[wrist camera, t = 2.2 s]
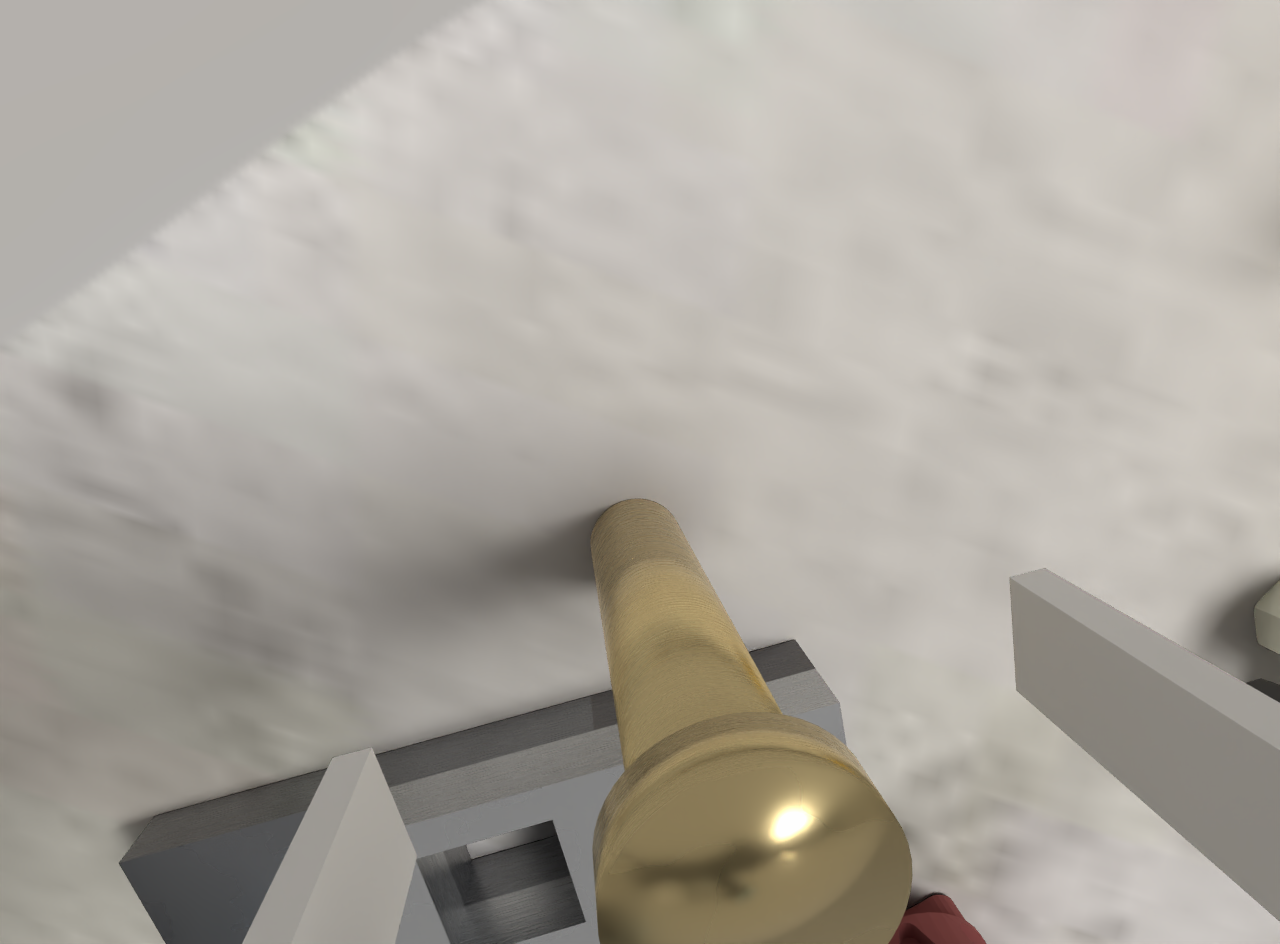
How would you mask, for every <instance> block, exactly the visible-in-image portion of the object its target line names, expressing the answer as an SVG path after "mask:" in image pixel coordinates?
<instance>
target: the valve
mask: <svg viewBox="0 0 1280 944" xmlns="http://www.w3.org/2000/svg"><path fill="white" fill-rule="evenodd" d="M1254 617H1255V627H1256V636H1257V641H1258V644H1260V645H1262V646H1264V647H1266V648H1268V649H1270V650H1272V651H1274V652H1276V653H1278V654H1280V580H1279V581H1278V582H1277V583H1276V584H1275V585H1274V586H1273V587H1272V588H1271V589H1270V590H1269V591H1268V592H1267V593H1266V594H1265V595H1264V596H1263V597H1262V598H1261V599H1260V600H1259V601H1258V602H1257V604H1256V606H1255V608H1254Z"/></svg>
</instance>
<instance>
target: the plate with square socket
mask: <svg viewBox="0 0 1280 944" xmlns="http://www.w3.org/2000/svg"><path fill="white" fill-rule="evenodd" d="M749 654H750V656H751V657H752V659H753V661H754V663H755V665H756V667H757V668H758V670H759V672H760V674H761V676H762V677H763V679H764V681H765V683H766V685H767V686H768V688H769V690H770V692H771V694H772V696H773V697H774V699H775V701H776V703H777V705H778V706H779V708H780V710H781V712H782V714H784V715H788V716H792V717H796V718H800V719H803V720H805V721H808V722H810V723H813V724H815V725H817V726H819V727H821V728H823V729H824V730H826V731H828V732H829V733H831V734H833V735H834V736H835V737H836V738H838V739H839V740H840V741H841V742H842V743H844V744H845V745H846V740H845V734H844V727H843V721H842V715H841V708H840V703H839V701H838V700H837V698H836V697H835V696H834V694H833V693H832V691H831V690H830V688H829V687H828V686H827V684H826V683H825V681H824V680H823V679H822V677H821V676H820V674H819V673H818V671H817V670H816V669H815V667H814V666H813V664H812V663H811V662H810V660H809V659H808V657H807V656H806V655H805V653H804V652H803V650H802V649H801V647H800V646H799V645H798V643H797V642H796V640H792V641H788V642H785V643H781V644H778V645H774V646H770V647H767V648H763V649H759V650H756V651H752V652H749ZM375 756H376V758H377V761H378V763H379V765H380V768H381V770H382V773H383V775H384V777H385V780H386V782H387V785H388V787H389V789H390V792H391V794H392V797H393V799H394V801H395V804H396V806H397V809H398V811H399V813H400V816H401V818H402V821H403V823H404V825H405V828H406V830H407V833H408V835H409V837H410V840H411V842H412V845H413V847H414V849H415V852H416V854H417V858H416V862H415V866H414V870H413V874H412V878H411V882H410V886H409V890H408V894H407V898H406V902H405V906H404V910H403V914H402V917H401V921H400V925H399V929H398V933H397V937H396V941H395V944H600V941H599V937H598V924H597V910H596V896H595V882H594V868H593V852H592V846H593V837H594V830H595V826H596V822H597V819H598V815H599V813H600V811H601V808H602V806H603V803H604V801H605V799H606V797H607V796H608V794H609V792H610V791H611V789H612V787H613V786H614V784H615V783H616V782H617V780H618V779H619V778H620V776H621V775H622V774H623V773H624V771H625V770H624V764H623V757H622V751H621V744H620V738H619V731H618V724H617V718H616V711H615V705H614V698H613V692H612V690H611V691H607V692H603V693H600V694H596V695H593V696H589V697H585V698H582V699H578V700H574V701H571V702H567V703H564V704H560V705H556V706H553V707H549V708H545V709H542V710H538V711H534V712H531V713H527V714H524V715H520V716H516V717H513V718H509V719H505V720H502V721H498V722H495V723H491V724H487V725H484V726H480V727H476V728H473V729H469V730H466V731H462V732H458V733H455V734H451V735H447V736H444V737H440V738H437V739H433V740H429V741H426V742H422V743H418V744H415V745H411V746H408V747H404V748H400V749H397V750H393V751H389V752H386V753H382V754H378V755H375ZM326 770H327V769H324V770H320V771H317V772H313V773H310V774H306V775H302V776H299V777H295V778H291V779H288V780H284V781H281V782H277V783H273V784H270V785H266V786H262V787H259V788H255V789H252V790H248V791H244V792H241V793H237V794H233V795H230V796H226V797H222V798H219V799H215V800H212V801H208V802H204V803H201V804H197V805H193V806H190V807H186V808H183V809H179V810H175V811H172V812H168V813H164V814H161V815H157V816H154V818H153V819H152V820H151V822H150V823H149V824H148V826H147V827H146V828H145V829H144V831H143V832H142V833H141V835H140V836H139V837H138V839H137V840H136V841H135V843H134V844H133V845H132V846H131V848H130V849H129V850H128V852H127V853H126V854H125V856H124V857H123V858H122V860H121V861H120V862H119V864H120V866H121V868H122V870H123V871H124V873H125V875H126V876H127V878H128V880H129V882H130V883H131V885H132V887H133V888H134V890H135V892H136V894H137V895H138V897H139V899H140V900H141V902H142V904H143V906H144V907H145V909H146V911H147V912H148V914H149V916H150V917H151V919H152V921H153V923H154V924H155V926H156V928H157V929H158V931H159V933H160V935H161V936H162V938H163V940H164V941H165V943H166V944H242V943H243V941H244V939H245V937H246V935H247V933H248V931H249V928H250V926H251V924H252V922H253V920H254V918H255V916H256V914H257V912H258V910H259V908H260V906H261V904H262V902H263V900H264V898H265V896H266V894H267V892H268V889H269V887H270V885H271V883H272V881H273V879H274V877H275V875H276V873H277V871H278V869H279V867H280V865H281V863H282V861H283V859H284V857H285V855H286V852H287V850H288V848H289V846H290V844H291V842H292V840H293V838H294V836H295V834H296V832H297V830H298V828H299V826H300V824H301V822H302V820H303V818H304V815H305V813H306V811H307V809H308V807H309V805H310V803H311V801H312V799H313V797H314V795H315V793H316V791H317V789H318V787H319V785H320V783H321V781H322V779H323V776H324V774H325V772H326ZM550 820H553V823H554V826H555V829H556V832H557V836H554V837H551V838H547V839H544V840H540V841H537V842H533V843H530V844H526V845H523V846H519V847H516V848H512V849H509V850H506V851H502V852H499V853H495V854H492V855H488V856H485V857H481V858H478V859H474V860H471V857H470V855H469V852H468V850H467V847H466V845H467V844H470V843H474V842H477V841H481V840H484V839H488V838H491V837H494V836H498V835H501V834H505V833H508V832H512V831H515V830H519V829H522V828H526V827H529V826H533V825H536V824H540V823H543V822H547V821H550Z"/></svg>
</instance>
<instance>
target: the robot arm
mask: <svg viewBox="0 0 1280 944" xmlns="http://www.w3.org/2000/svg"><path fill="white" fill-rule="evenodd" d="M1009 578H1010V594H1011V611H1012V628H1013V644H1014V661H1015V678H1016V690H1017V691H1018V692H1019V693H1020V694H1021V695H1022V696H1023V697H1024V698H1026V699H1027V700H1028V701H1029V702H1030V703H1031V704H1032V705H1034V706H1035V707H1036V708H1037V709H1038V710H1039V711H1040V712H1042V713H1043V714H1044V715H1045V716H1046V717H1047V718H1048V719H1050V720H1051V721H1052V722H1053V723H1054V724H1055V725H1056V726H1058V727H1059V728H1060V729H1061V730H1062V731H1063V732H1064V733H1065V734H1067V735H1068V736H1069V737H1070V738H1071V739H1072V740H1073V741H1075V742H1076V743H1077V744H1078V745H1079V746H1080V747H1081V748H1083V749H1084V750H1085V751H1086V752H1087V753H1088V754H1089V755H1091V756H1092V757H1093V758H1094V759H1095V760H1096V761H1097V762H1099V763H1100V764H1101V765H1102V766H1103V767H1104V768H1105V769H1106V770H1108V771H1109V772H1110V773H1111V774H1112V775H1113V776H1114V777H1116V778H1117V779H1118V780H1119V781H1120V782H1121V783H1122V784H1124V785H1125V786H1126V787H1127V788H1128V789H1129V790H1130V791H1132V792H1133V793H1134V794H1135V795H1136V796H1137V797H1138V798H1140V799H1141V800H1142V801H1143V802H1144V803H1145V804H1146V805H1147V806H1149V807H1150V808H1151V809H1152V810H1153V811H1154V812H1155V813H1157V814H1158V815H1159V816H1160V817H1161V818H1162V819H1163V820H1165V821H1166V822H1167V823H1168V824H1169V825H1170V826H1171V827H1173V828H1174V829H1175V830H1176V831H1177V832H1178V833H1179V834H1181V835H1182V836H1183V837H1184V838H1185V839H1186V840H1187V841H1188V842H1190V843H1191V844H1192V845H1193V846H1194V847H1195V848H1196V849H1198V850H1199V851H1200V852H1201V853H1202V854H1203V855H1204V856H1206V857H1207V858H1208V859H1209V860H1210V861H1211V862H1212V863H1214V864H1215V865H1216V866H1217V867H1218V868H1219V869H1220V870H1222V871H1223V872H1224V873H1225V874H1226V875H1227V876H1228V877H1229V878H1231V879H1232V880H1233V881H1234V882H1235V883H1236V884H1237V885H1239V886H1240V887H1241V888H1242V889H1243V890H1244V891H1245V892H1247V893H1248V894H1249V895H1250V896H1251V897H1252V898H1253V899H1255V900H1256V901H1257V902H1258V903H1259V904H1260V905H1261V906H1263V907H1264V908H1265V909H1266V910H1267V911H1268V912H1269V913H1270V914H1272V915H1273V916H1274V917H1275V918H1276V919H1277V920H1278V921H1280V685H1278V684H1275V683H1272V682H1269V681H1266V680H1264V679H1258V680H1254V681H1251V682H1247V683H1244V682H1243V681H1241V680H1239V679H1237V678H1236V677H1234V676H1232V675H1230V674H1229V673H1227V672H1225V671H1223V670H1222V669H1220V668H1218V667H1216V666H1215V665H1213V664H1211V663H1209V662H1208V661H1206V660H1204V659H1202V658H1201V657H1199V656H1197V655H1196V654H1194V653H1192V652H1190V651H1189V650H1187V649H1185V648H1183V647H1182V646H1180V645H1178V644H1176V643H1175V642H1173V641H1171V640H1169V639H1168V638H1166V637H1164V636H1162V635H1161V634H1159V633H1157V632H1155V631H1154V630H1152V629H1150V628H1148V627H1147V626H1145V625H1143V624H1142V623H1140V622H1138V621H1136V620H1135V619H1133V618H1131V617H1129V616H1128V615H1126V614H1124V613H1122V612H1121V611H1119V610H1117V609H1115V608H1114V607H1112V606H1110V605H1108V604H1107V603H1105V602H1103V601H1101V600H1100V599H1098V598H1096V597H1094V596H1093V595H1091V594H1089V593H1087V592H1086V591H1084V590H1082V589H1081V588H1079V587H1077V586H1075V585H1074V584H1072V583H1070V582H1068V581H1067V580H1065V579H1063V578H1061V577H1060V576H1058V575H1056V574H1054V573H1053V572H1051V571H1049V570H1047V569H1046V568H1043V569H1039V570H1035V571H1031V572H1028V573H1024V574H1020V575H1016V576H1013V577H1009ZM416 858H417V854H416V852H415V849H414V847H413V845H412V842H411V840H410V837H409V835H408V833H407V830H406V828H405V825H404V823H403V821H402V818H401V816H400V813H399V811H398V809H397V806H396V804H395V801H394V799H393V797H392V794H391V792H390V789H389V787H388V785H387V782H386V780H385V777H384V775H383V773H382V770H381V768H380V765H379V763H378V761H377V758H376V756H375V753H374V751H373V749H372V747H371V748H367V749H363V750H360V751H356V752H352V753H348V754H345V755H341V756H337V757H333V758H332V760H331V762H330V764H329V766H328V768H327V770H326V772H325V774H324V776H323V779H322V781H321V783H320V785H319V787H318V789H317V791H316V793H315V795H314V797H313V799H312V801H311V803H310V805H309V807H308V809H307V811H306V813H305V815H304V818H303V820H302V822H301V824H300V826H299V828H298V830H297V832H296V834H295V836H294V838H293V840H292V842H291V844H290V846H289V848H288V850H287V852H286V855H285V857H284V859H283V861H282V863H281V865H280V867H279V869H278V871H277V873H276V875H275V877H274V879H273V881H272V883H271V885H270V887H269V889H268V892H267V894H266V896H265V898H264V900H263V902H262V904H261V906H260V908H259V910H258V912H257V914H256V916H255V918H254V920H253V922H252V924H251V926H250V928H249V931H248V933H247V935H246V937H245V939H244V941H243V943H242V944H395V941H396V937H397V933H398V929H399V925H400V921H401V917H402V914H403V910H404V906H405V902H406V898H407V894H408V890H409V886H410V882H411V878H412V874H413V870H414V866H415V862H416Z"/></svg>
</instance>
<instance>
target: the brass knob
mask: <svg viewBox="0 0 1280 944" xmlns="http://www.w3.org/2000/svg"><path fill="white" fill-rule="evenodd" d="M590 544H591V553H592V560H593V567H594V573H595V580H596V586H597V593H598V599H599V606H600V613H601V619H602V626H603V632H604V639H605V645H606V652H607V659H608V665H609V672H610V678H611V685H612V692H613V698H614V705H615V711H616V718H617V724H618V731H619V738H620V744H621V751H622V757H623V764H624V770H625V771H624V773H623V774H622V775H621V776H620V778H619V779H618V780H617V782H616V783H615V784H614V786H613V787H612V789H611V791H610V792H609V794H608V796H607V797H606V799H605V801H604V803H603V806H602V808H601V811H600V813H599V815H598V819H597V822H596V826H595V830H594V837H593V846H592V852H593V868H594V882H595V896H596V910H597V924H598V937H599V941H600V944H888V943H889V942H890V940H891V939H892V937H893V935H894V933H895V932H896V930H897V928H898V926H899V925H900V922H901V920H902V917H903V915H904V913H905V910H906V908H907V904H908V900H909V896H910V892H911V883H912V859H911V854H910V849H909V845H908V842H907V839H906V837H905V834H904V832H903V829H902V827H901V826H900V824H899V822H898V821H897V819H896V818H895V816H894V814H893V813H892V811H891V810H890V808H889V807H888V805H887V804H886V802H885V801H884V799H883V798H882V796H881V795H880V793H879V792H878V790H877V789H876V787H875V786H874V784H873V782H872V781H871V779H870V778H869V776H868V775H867V773H866V772H865V770H864V769H863V767H862V766H861V764H860V763H859V761H858V760H857V758H856V757H855V755H854V754H853V753H852V752H851V751H850V750H849V749H848V747H847V746H846V745H845V744H844V743H842V742H841V741H840V740H839V739H838V738H836V737H835V736H834V735H833V734H831V733H829V732H828V731H826V730H824V729H823V728H821V727H819V726H817V725H815V724H813V723H810V722H808V721H805V720H803V719H800V718H796V717H792V716H788V715H784V714H782V712H781V710H780V708H779V706H778V705H777V703H776V701H775V699H774V697H773V696H772V694H771V692H770V690H769V688H768V686H767V685H766V683H765V681H764V679H763V677H762V676H761V674H760V672H759V670H758V668H757V667H756V665H755V663H754V661H753V659H752V657H751V656H750V654H749V652H748V650H747V648H746V647H745V645H744V643H743V641H742V639H741V638H740V636H739V634H738V632H737V630H736V628H735V627H734V625H733V623H732V621H731V619H730V618H729V616H728V614H727V612H726V610H725V609H724V607H723V605H722V603H721V601H720V599H719V598H718V596H717V594H716V592H715V590H714V589H713V587H712V585H711V583H710V581H709V579H708V578H707V576H706V574H705V572H704V570H703V569H702V567H701V565H700V563H699V561H698V560H697V558H696V556H695V554H694V552H693V550H692V549H691V547H690V545H689V543H688V541H687V540H686V538H685V536H684V534H683V532H682V531H681V529H680V527H679V525H678V523H677V521H676V520H675V518H674V517H673V515H672V514H671V513H670V512H669V511H668V510H667V509H666V508H665V507H663V506H662V505H660V504H658V503H656V502H653V501H650V500H646V499H630V500H625V501H622V502H619V503H617V504H615V505H613V506H612V507H610V508H609V509H607V510H606V511H605V512H604V513H603V514H602V515H601V516H600V518H599V519H598V520H597V522H596V524H595V526H594V528H593V531H592V535H591V542H590Z"/></svg>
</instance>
